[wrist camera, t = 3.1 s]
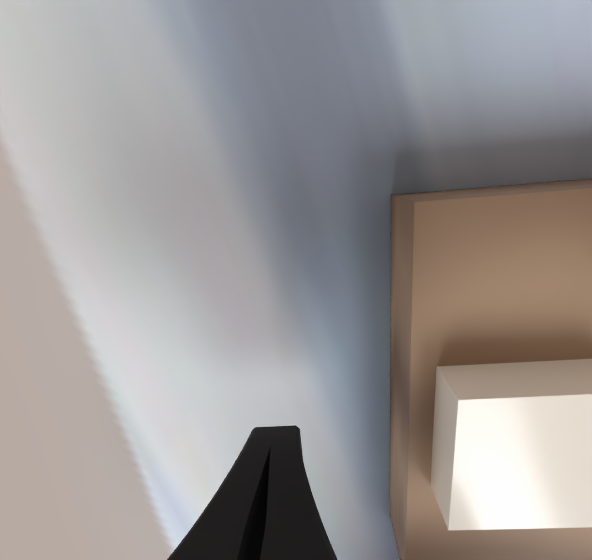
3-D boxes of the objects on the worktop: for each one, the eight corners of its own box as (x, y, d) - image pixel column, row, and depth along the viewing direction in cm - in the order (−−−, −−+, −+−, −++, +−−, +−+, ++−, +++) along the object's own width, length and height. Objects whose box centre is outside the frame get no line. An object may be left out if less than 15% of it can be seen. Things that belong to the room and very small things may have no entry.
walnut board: (650, 509, 14) (718, 576, 12) (390, 515, 15) (405, 581, 13) (762, 164, 10) (904, 162, 8) (391, 195, 11) (414, 202, 8)
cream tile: (572, 479, 11) (612, 527, 9) (430, 484, 11) (448, 530, 10) (599, 358, 9) (650, 391, 8) (436, 366, 10) (458, 400, 8)
